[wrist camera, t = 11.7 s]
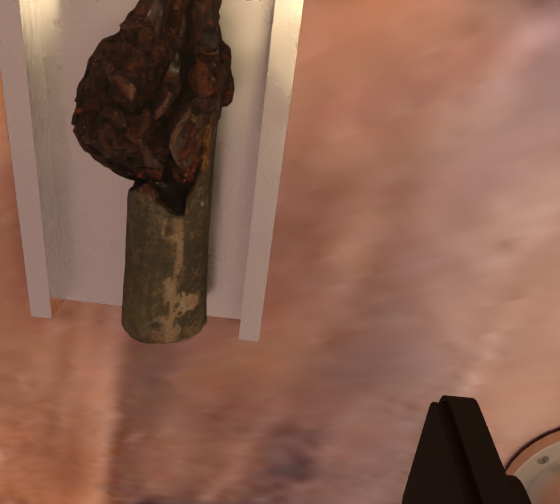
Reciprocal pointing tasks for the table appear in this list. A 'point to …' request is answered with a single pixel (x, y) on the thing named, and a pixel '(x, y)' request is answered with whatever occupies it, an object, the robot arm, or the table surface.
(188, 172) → the brown knobbed club
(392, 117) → the table surface
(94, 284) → the cradle
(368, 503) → the table surface
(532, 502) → the robot arm
